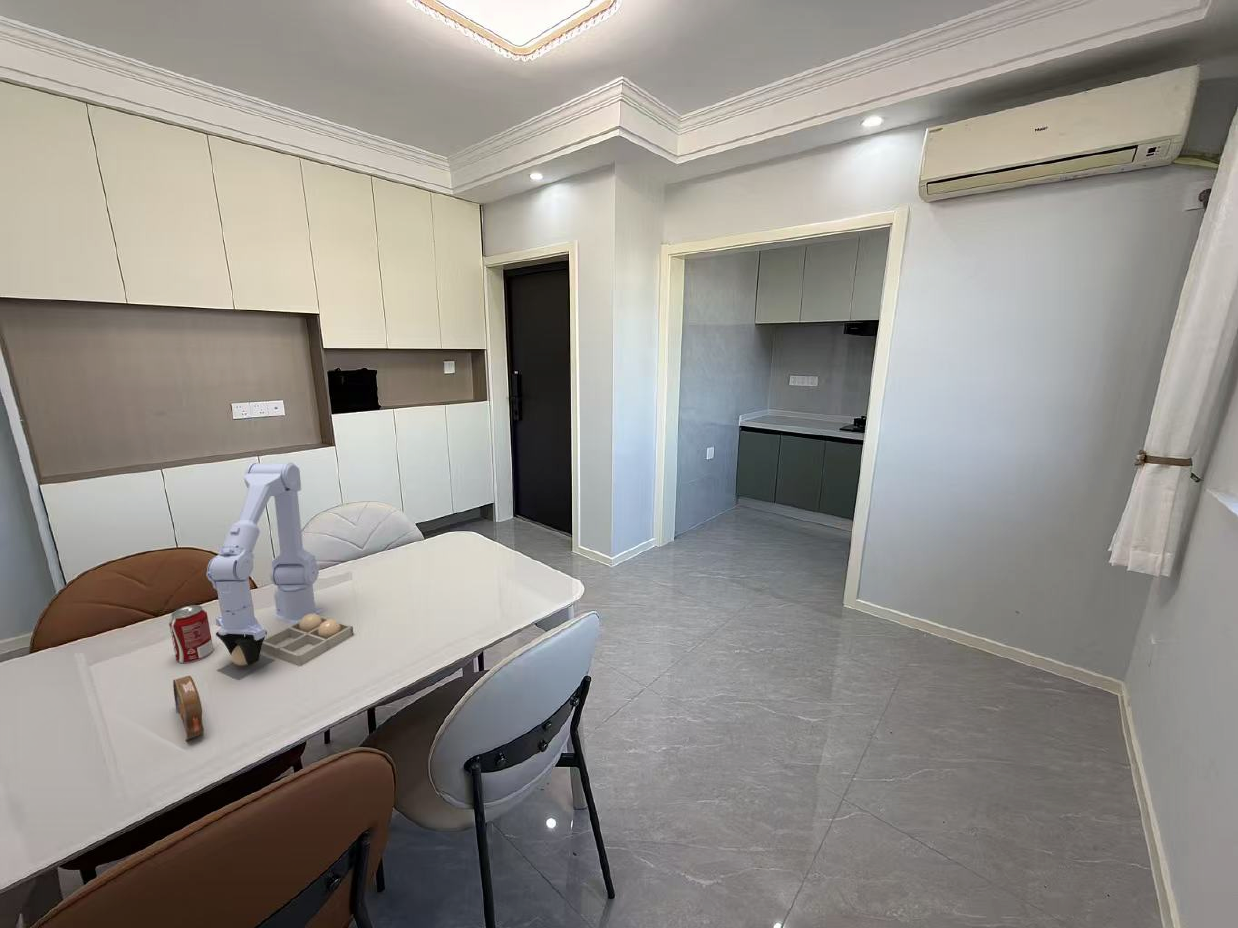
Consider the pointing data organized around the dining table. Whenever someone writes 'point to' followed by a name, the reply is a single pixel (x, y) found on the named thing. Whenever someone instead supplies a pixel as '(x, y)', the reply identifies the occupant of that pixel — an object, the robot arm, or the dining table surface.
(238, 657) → the loose egg
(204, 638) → the soda can
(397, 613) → the dining table surface
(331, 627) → the seated egg
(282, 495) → the robot arm
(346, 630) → the egg tray
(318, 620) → the seated egg
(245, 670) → the slate coaster
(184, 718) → the tin
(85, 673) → the dining table surface
